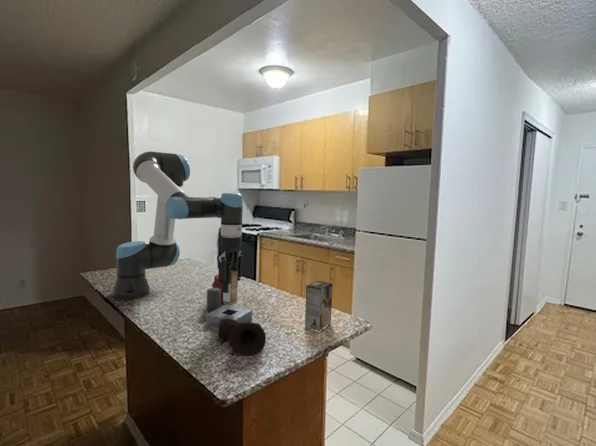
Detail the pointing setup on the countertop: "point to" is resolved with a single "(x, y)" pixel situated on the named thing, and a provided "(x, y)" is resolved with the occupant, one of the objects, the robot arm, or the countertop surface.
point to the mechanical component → (218, 286)
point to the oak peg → (233, 288)
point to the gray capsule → (213, 299)
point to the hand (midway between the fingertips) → (230, 299)
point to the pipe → (242, 336)
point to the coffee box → (318, 305)
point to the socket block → (228, 315)
